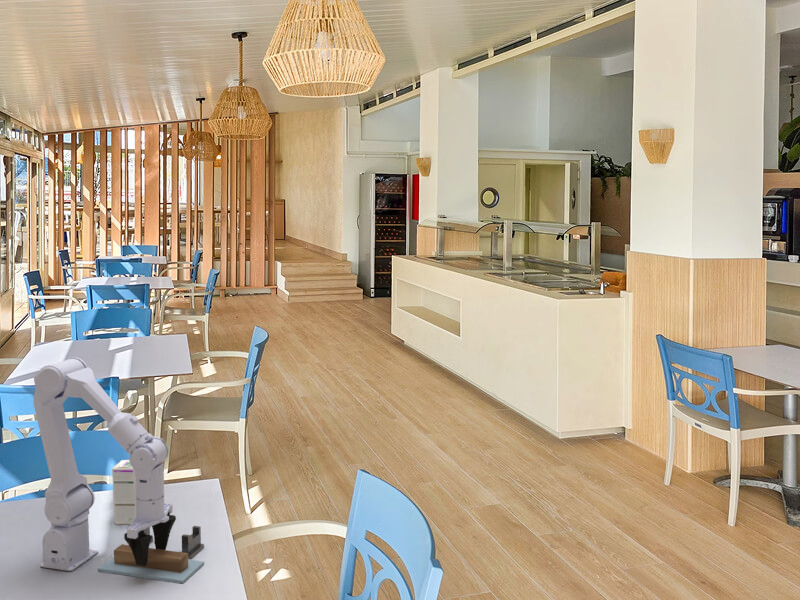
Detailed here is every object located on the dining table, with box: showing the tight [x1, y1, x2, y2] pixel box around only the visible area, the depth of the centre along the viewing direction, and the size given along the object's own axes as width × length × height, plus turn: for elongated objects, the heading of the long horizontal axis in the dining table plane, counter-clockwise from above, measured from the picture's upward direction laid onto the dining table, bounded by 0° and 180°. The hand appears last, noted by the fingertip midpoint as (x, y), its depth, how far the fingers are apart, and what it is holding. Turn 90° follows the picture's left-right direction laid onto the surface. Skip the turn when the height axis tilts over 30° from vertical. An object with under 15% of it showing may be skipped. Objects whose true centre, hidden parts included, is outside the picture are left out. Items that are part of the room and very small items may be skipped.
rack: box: [144, 525, 205, 560], centre depth 175 cm, size 6×16×5 cm, turn 76°
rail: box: [113, 544, 188, 573], centre depth 165 cm, size 3×16×3 cm, turn 76°
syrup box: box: [111, 459, 136, 525], centre depth 190 cm, size 6×6×14 cm
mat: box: [97, 556, 205, 584], centre depth 166 cm, size 9×20×1 cm, turn 76°
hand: (151, 556), depth 165 cm, fingers open, 7 cm apart
